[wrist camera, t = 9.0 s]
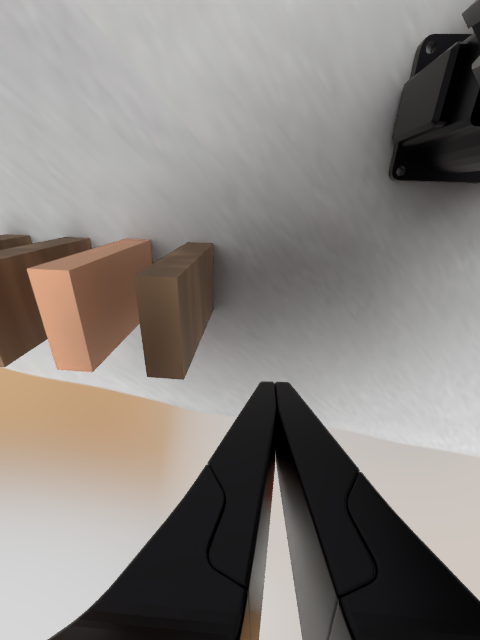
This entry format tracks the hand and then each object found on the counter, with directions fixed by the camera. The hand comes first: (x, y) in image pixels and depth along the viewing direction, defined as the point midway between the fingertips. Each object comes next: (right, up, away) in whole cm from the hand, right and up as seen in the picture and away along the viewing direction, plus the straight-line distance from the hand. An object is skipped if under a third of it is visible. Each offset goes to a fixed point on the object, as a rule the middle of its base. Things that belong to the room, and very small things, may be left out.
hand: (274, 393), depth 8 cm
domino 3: (-4, +5, +12) cm, 14 cm away
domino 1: (-13, +6, +12) cm, 19 cm away
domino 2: (-8, +6, +12) cm, 16 cm away
